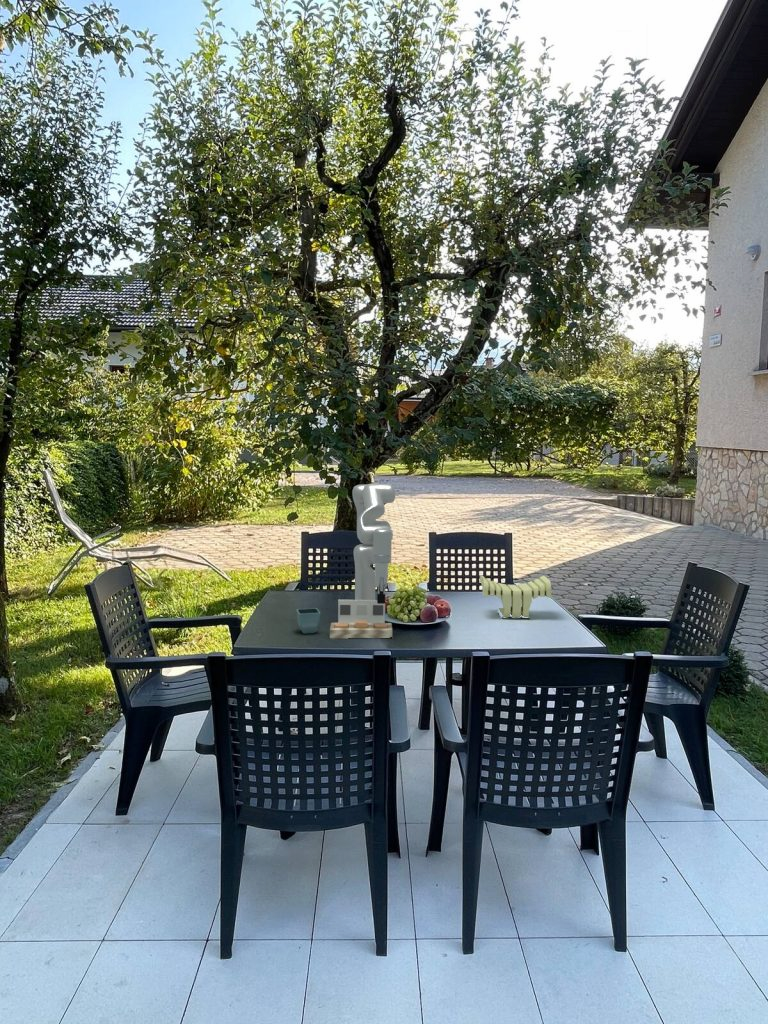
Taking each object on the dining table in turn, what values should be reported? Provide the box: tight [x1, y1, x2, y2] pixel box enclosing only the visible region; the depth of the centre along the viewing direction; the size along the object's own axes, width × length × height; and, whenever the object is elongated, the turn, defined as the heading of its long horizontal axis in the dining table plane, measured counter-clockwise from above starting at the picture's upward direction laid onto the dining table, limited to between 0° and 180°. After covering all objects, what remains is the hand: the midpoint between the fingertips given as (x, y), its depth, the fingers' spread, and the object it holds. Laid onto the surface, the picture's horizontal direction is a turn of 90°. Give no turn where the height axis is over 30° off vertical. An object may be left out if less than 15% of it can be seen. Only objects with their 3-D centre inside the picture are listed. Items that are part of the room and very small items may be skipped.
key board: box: [329, 622, 393, 639], centre depth 295 cm, size 25×12×4 cm, turn 91°
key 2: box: [375, 622, 388, 628], centre depth 295 cm, size 5×5×4 cm
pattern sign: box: [337, 599, 386, 623], centre depth 310 cm, size 20×5×11 cm, turn 91°
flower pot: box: [295, 607, 321, 635], centre depth 298 cm, size 9×9×9 cm
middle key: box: [355, 620, 367, 628], centre depth 295 cm, size 5×5×4 cm
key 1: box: [335, 622, 348, 628], centre depth 295 cm, size 5×5×4 cm
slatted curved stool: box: [479, 574, 552, 618], centre depth 332 cm, size 30×16×18 cm, turn 90°
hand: (381, 603), depth 295 cm, fingers closed
